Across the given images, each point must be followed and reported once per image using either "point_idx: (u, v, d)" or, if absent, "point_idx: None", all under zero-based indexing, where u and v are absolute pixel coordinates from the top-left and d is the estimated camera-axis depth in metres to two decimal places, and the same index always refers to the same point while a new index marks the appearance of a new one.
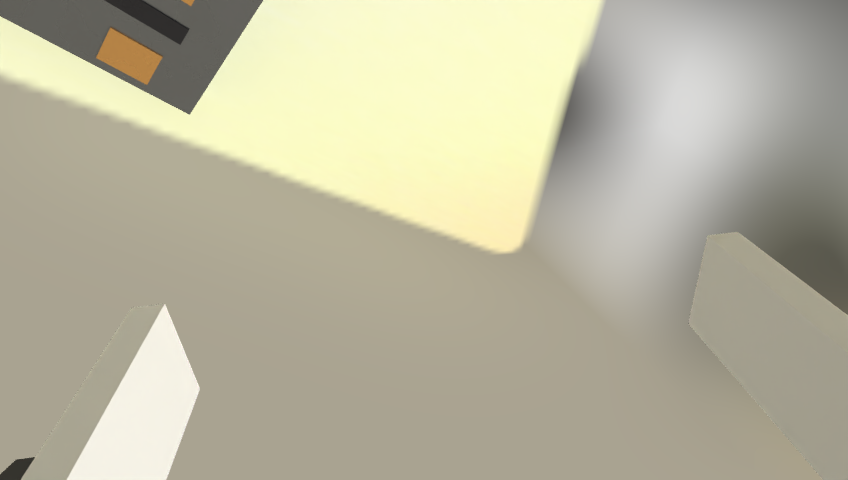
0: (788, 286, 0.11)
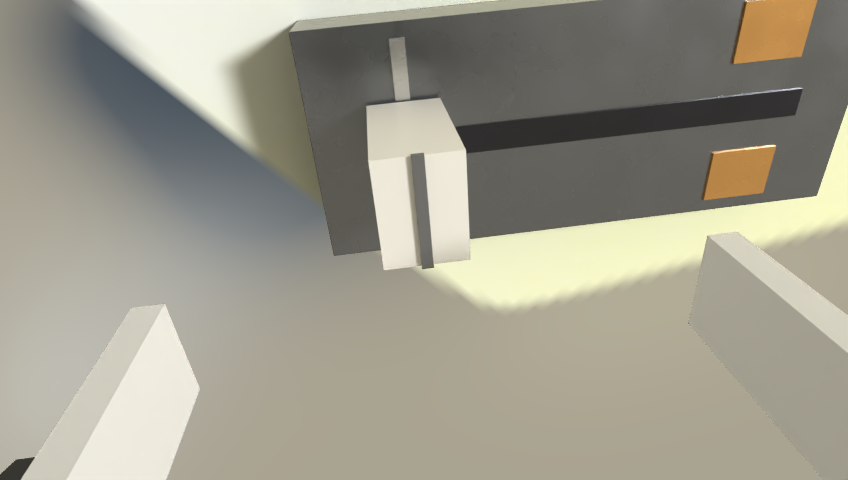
0: (788, 286, 0.11)
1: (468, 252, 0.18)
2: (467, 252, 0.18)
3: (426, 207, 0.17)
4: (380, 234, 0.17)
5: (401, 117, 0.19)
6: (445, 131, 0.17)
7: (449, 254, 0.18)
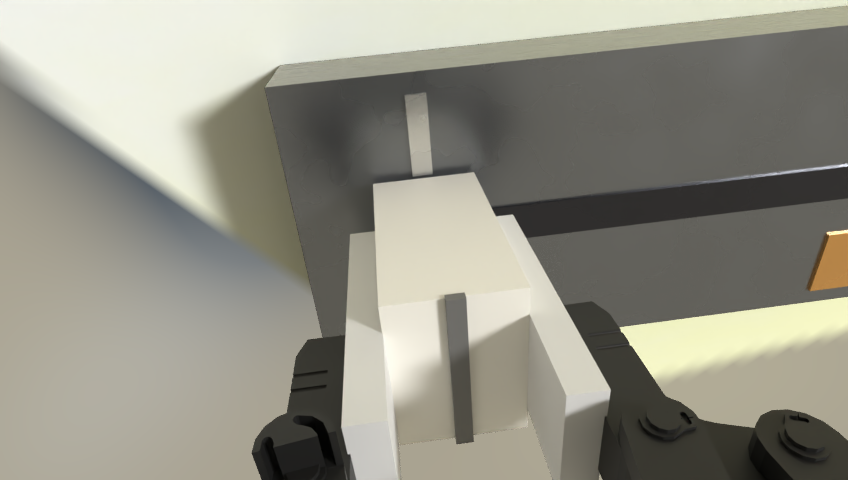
0: (520, 258, 0.12)
1: (524, 419, 0.12)
2: (523, 419, 0.12)
3: (466, 367, 0.11)
4: (395, 401, 0.11)
5: (423, 209, 0.13)
6: (492, 243, 0.12)
7: (496, 422, 0.12)
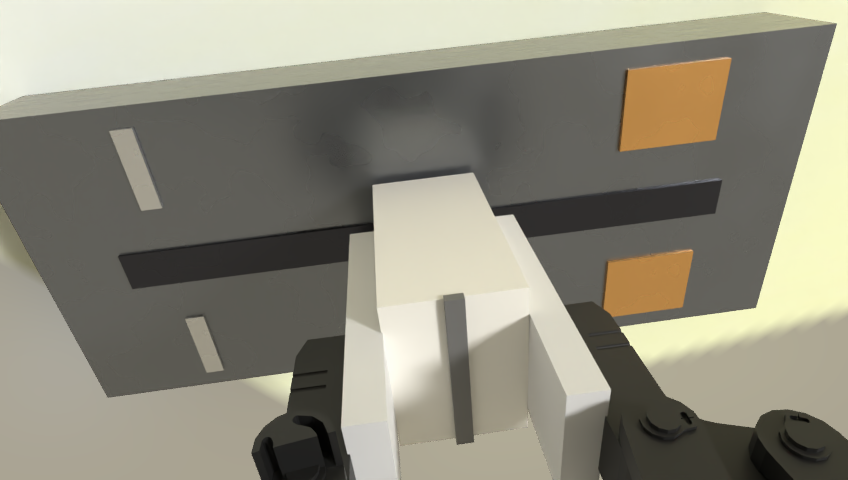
0: (520, 258, 0.12)
1: (525, 419, 0.12)
2: (523, 419, 0.12)
3: (466, 367, 0.11)
4: (395, 402, 0.11)
5: (422, 210, 0.13)
6: (490, 243, 0.12)
7: (497, 422, 0.12)
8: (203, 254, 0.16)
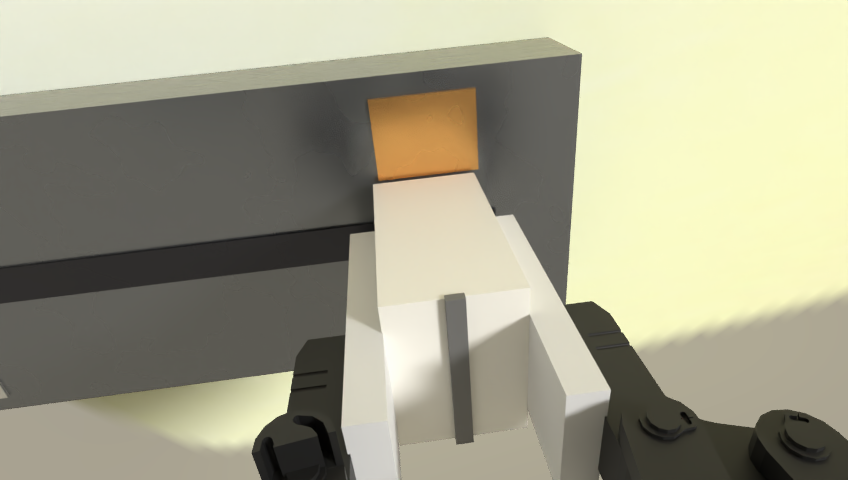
0: (520, 258, 0.12)
1: (524, 419, 0.12)
2: (523, 419, 0.12)
3: (466, 367, 0.11)
4: (395, 402, 0.11)
5: (423, 209, 0.13)
6: (492, 243, 0.12)
7: (496, 422, 0.12)
8: None
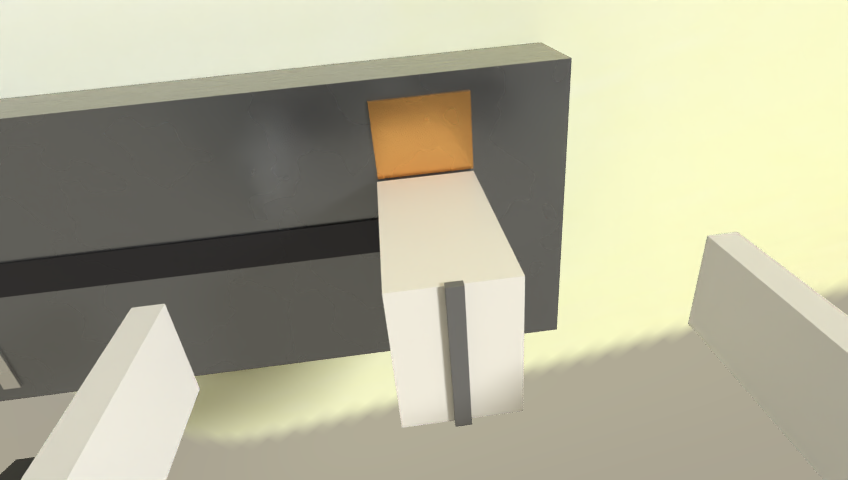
0: (788, 286, 0.11)
1: (520, 403, 0.13)
2: (519, 403, 0.13)
3: (465, 351, 0.11)
4: (398, 385, 0.12)
5: (425, 205, 0.14)
6: (489, 236, 0.12)
7: (494, 406, 0.13)
8: None
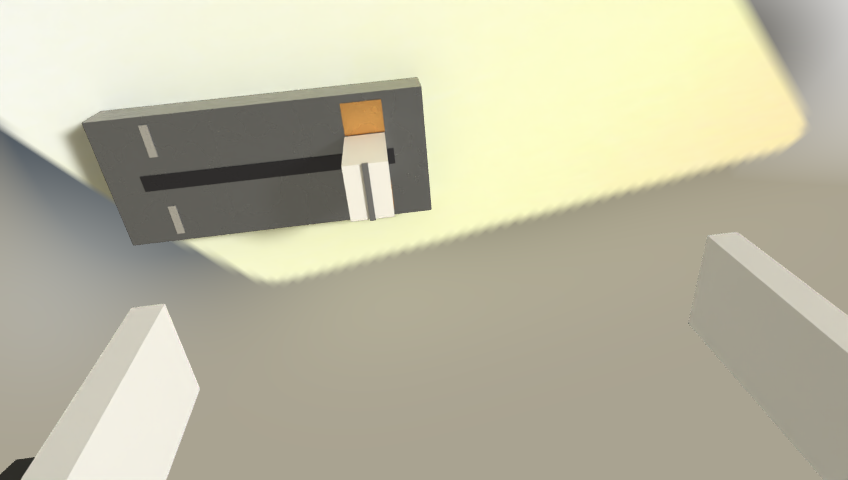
0: (788, 286, 0.11)
1: (393, 212, 0.35)
2: (392, 212, 0.35)
3: (370, 188, 0.34)
4: (348, 202, 0.34)
5: (361, 144, 0.37)
6: (381, 152, 0.35)
7: (383, 213, 0.35)
8: (174, 176, 0.39)
